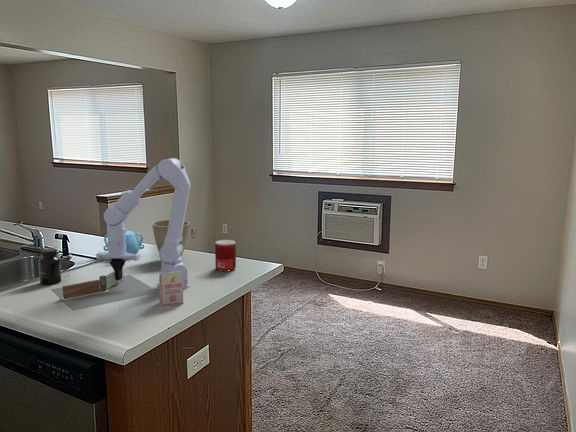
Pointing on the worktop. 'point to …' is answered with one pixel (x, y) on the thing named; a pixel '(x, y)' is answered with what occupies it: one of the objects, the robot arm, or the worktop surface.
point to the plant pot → (161, 232)
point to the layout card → (108, 294)
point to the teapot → (130, 242)
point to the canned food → (225, 255)
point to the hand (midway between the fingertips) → (118, 279)
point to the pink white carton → (171, 288)
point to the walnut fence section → (84, 288)
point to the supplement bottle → (49, 267)
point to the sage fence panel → (112, 279)
